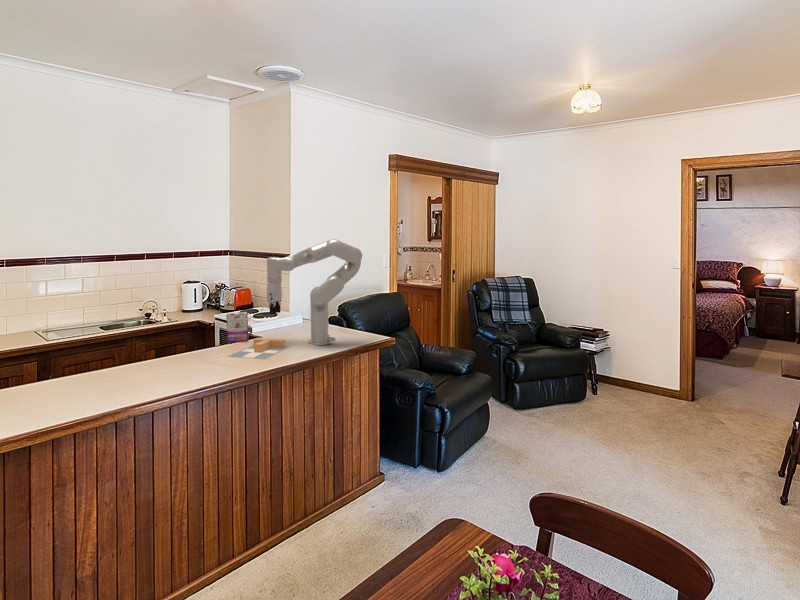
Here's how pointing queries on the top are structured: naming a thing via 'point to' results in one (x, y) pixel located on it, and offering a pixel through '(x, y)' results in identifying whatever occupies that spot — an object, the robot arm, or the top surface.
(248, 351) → the mat
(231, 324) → the candy bar box
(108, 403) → the top surface
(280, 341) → the t block
